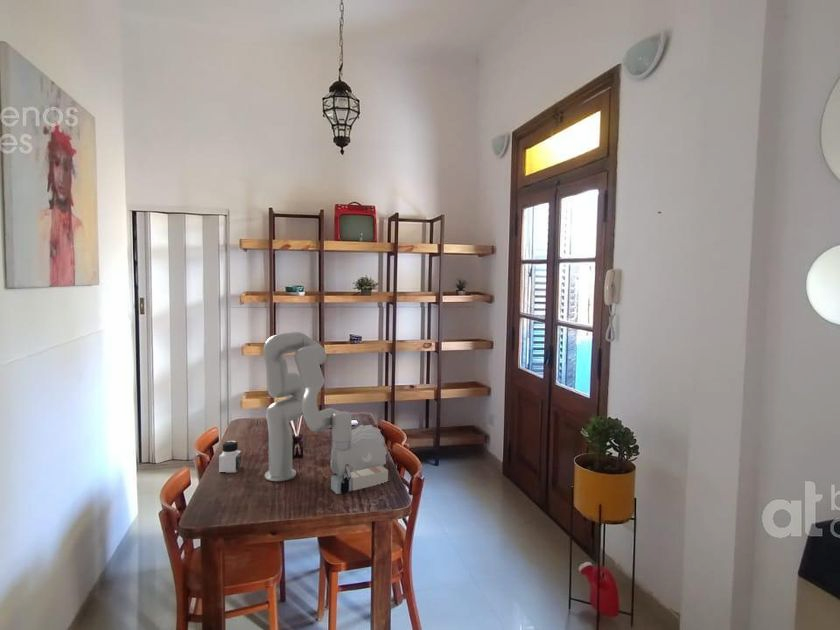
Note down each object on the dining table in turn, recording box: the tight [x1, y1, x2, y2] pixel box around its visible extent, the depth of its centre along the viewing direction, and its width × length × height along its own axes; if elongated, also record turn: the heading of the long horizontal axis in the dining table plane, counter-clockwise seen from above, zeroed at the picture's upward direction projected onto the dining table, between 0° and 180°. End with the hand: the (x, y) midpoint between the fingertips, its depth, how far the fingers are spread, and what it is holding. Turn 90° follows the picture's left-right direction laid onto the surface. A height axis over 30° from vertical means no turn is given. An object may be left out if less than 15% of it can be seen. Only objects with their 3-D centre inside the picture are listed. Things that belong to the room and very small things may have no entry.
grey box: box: [330, 472, 352, 495], centre depth 193 cm, size 6×6×5 cm
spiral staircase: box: [350, 424, 388, 472], centre depth 216 cm, size 18×18×25 cm
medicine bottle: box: [218, 440, 242, 473], centre depth 211 cm, size 7×7×12 cm
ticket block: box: [351, 466, 389, 492], centre depth 199 cm, size 6×16×5 cm, turn 124°
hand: (341, 488), depth 193 cm, fingers closed on grey box, 6 cm apart
